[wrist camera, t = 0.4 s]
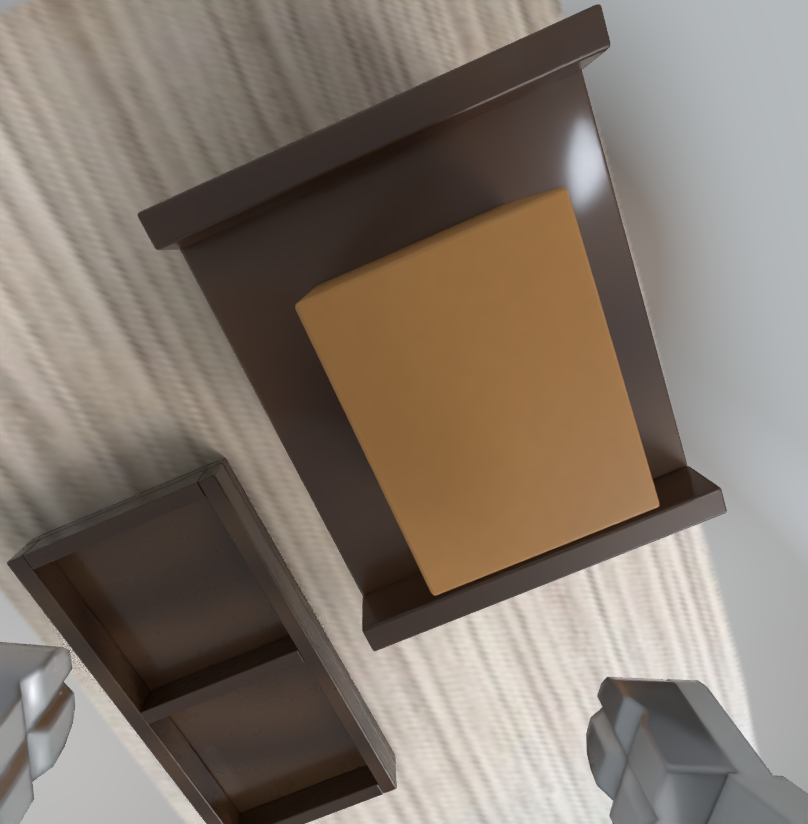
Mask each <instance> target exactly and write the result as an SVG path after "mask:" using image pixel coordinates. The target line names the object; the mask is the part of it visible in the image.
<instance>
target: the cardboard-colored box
mask: <svg viewBox="0 0 808 824" xmlns="http://www.w3.org/2000/svg"><path fill="white" fill-rule="evenodd" d="M295 308H296V311H297V313H298V315H299V317H300V320H301V322H302V324H303V326H304V328H305V330H306V332H307V334H308V336H309V338H310V340H311V343H312V345H313V347H314V349H315V351H316V353H317V355H318V357H319V359H320V361H321V364H322V366H323V368H324V370H325V372H326V374H327V376H328V378H329V380H330V382H331V385H332V387H333V389H334V391H335V393H336V395H337V397H338V399H339V401H340V403H341V405H342V408H343V410H344V412H345V414H346V416H347V418H348V420H349V422H350V424H351V426H352V429H353V431H354V433H355V435H356V437H357V439H358V441H359V443H360V445H361V447H362V449H363V452H364V454H365V456H366V458H367V460H368V462H369V464H370V466H371V468H372V470H373V473H374V475H375V477H376V479H377V481H378V483H379V485H380V487H381V489H382V491H383V493H384V496H385V498H386V500H387V502H388V504H389V506H390V508H391V510H392V512H393V514H394V517H395V519H396V521H397V523H398V525H399V527H400V529H401V531H402V533H403V535H404V537H405V540H406V542H407V544H408V546H409V548H410V550H411V552H412V554H413V556H414V558H415V561H416V563H417V565H418V567H419V569H420V571H421V573H422V575H423V577H424V579H425V581H426V584H427V586H428V588H429V590H430V592H431V593H432V594H433V595H439V594H441V593H444V592H446V591H449V590H451V589H454V588H456V587H459V586H461V585H464V584H466V583H469V582H471V581H474V580H476V579H479V578H481V577H484V576H486V575H489V574H491V573H494V572H496V571H499V570H502V569H504V568H507V567H509V566H512V565H514V564H517V563H519V562H522V561H524V560H527V559H529V558H532V557H534V556H537V555H539V554H542V553H544V552H547V551H549V550H552V549H554V548H557V547H559V546H562V545H564V544H567V543H569V542H572V541H574V540H577V539H579V538H582V537H584V536H587V535H589V534H592V533H595V532H597V531H600V530H602V529H605V528H607V527H610V526H612V525H615V524H617V523H620V522H622V521H625V520H627V519H630V518H632V517H635V516H637V515H640V514H642V513H645V512H647V511H650V510H652V509H655V508H657V507H658V506H659V500H658V497H657V493H656V490H655V486H654V483H653V480H652V476H651V473H650V469H649V466H648V462H647V459H646V456H645V452H644V449H643V445H642V442H641V439H640V435H639V432H638V428H637V425H636V422H635V418H634V415H633V411H632V408H631V404H630V401H629V398H628V394H627V391H626V387H625V384H624V381H623V377H622V374H621V370H620V367H619V364H618V360H617V357H616V353H615V350H614V346H613V343H612V340H611V336H610V333H609V329H608V326H607V323H606V319H605V316H604V312H603V309H602V305H601V302H600V299H599V295H598V292H597V288H596V285H595V282H594V278H593V275H592V271H591V268H590V265H589V261H588V258H587V254H586V251H585V247H584V244H583V241H582V237H581V234H580V230H579V227H578V224H577V220H576V217H575V213H574V210H573V207H572V203H571V200H570V196H569V193H568V190H567V189H566V188H565V187H561V188H557V189H554V190H550V191H547V192H543V193H540V194H536V195H533V196H529V197H526V198H522V199H519V200H516V201H512V202H509V203H505V204H503V205H500V206H498V207H496V208H493V209H491V210H489V211H487V212H484V213H482V214H480V215H477V216H475V217H473V218H471V219H468V220H466V221H464V222H461V223H459V224H457V225H455V226H452V227H450V228H448V229H445V230H443V231H441V232H439V233H436V234H434V235H432V236H429V237H427V238H425V239H423V240H420V241H418V242H416V243H413V244H411V245H409V246H406V247H404V248H402V249H400V250H397V251H395V252H393V253H390V254H388V255H386V256H384V257H381V258H379V259H377V260H374V261H372V262H370V263H368V264H365V265H363V266H361V267H358V268H356V269H354V270H352V271H349V272H347V273H345V274H342V275H340V276H338V277H336V278H333V279H331V280H329V281H326V282H324V283H322V284H320V285H317V286H316V287H315V288H314V289H313V290H311V291H310V292H309V293H308V294H307V295H306V296H305V297H303V298H302V299H301V300H300V301H299V302H298V303H297V304H296V305H295Z"/></svg>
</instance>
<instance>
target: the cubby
mask: <svg viewBox="0 0 808 824" xmlns="http://www.w3.org/2000/svg"><path fill="white" fill-rule="evenodd" d="M609 47H610V40H609V36H608V32H607V28H606V24H605V20H604V16H603V12H602V8H601V5H594V6H592V7H590V8H588V9H586V10H583V11H581V12H579V13H577V14H574V15H572V16H570V17H568V18H566V19H563V20H561V21H559V22H557V23H555V24H552V25H550V26H548V27H546V28H544V29H541V30H539V31H537V32H535V33H533V34H530V35H528V36H526V37H524V38H522V39H519V40H517V41H515V42H513V43H511V44H508V45H506V46H504V47H502V48H500V49H497V50H495V51H493V52H491V53H489V54H486V55H484V56H482V57H480V58H477V59H475V60H473V61H471V62H469V63H466V64H464V65H462V66H460V67H458V68H455V69H453V70H451V71H449V72H447V73H444V74H442V75H440V76H438V77H436V78H433V79H431V80H429V81H427V82H425V83H422V84H420V85H418V86H416V87H414V88H411V89H409V90H407V91H405V92H403V93H400V94H398V95H396V96H394V97H392V98H389V99H387V100H385V101H383V102H381V103H378V104H376V105H374V106H372V107H370V108H367V109H365V110H363V111H361V112H359V113H356V114H354V115H352V116H350V117H348V118H345V119H343V120H341V121H339V122H336V123H334V124H332V125H330V126H328V127H325V128H323V129H321V130H319V131H317V132H314V133H312V134H310V135H308V136H306V137H303V138H301V139H299V140H297V141H295V142H292V143H290V144H288V145H286V146H284V147H281V148H279V149H277V150H275V151H273V152H270V153H268V154H266V155H264V156H262V157H259V158H257V159H255V160H253V161H251V162H248V163H246V164H244V165H242V166H240V167H237V168H235V169H233V170H231V171H229V172H226V173H224V174H222V175H220V176H218V177H215V178H213V179H211V180H209V181H207V182H204V183H202V184H200V185H198V186H195V187H193V188H191V189H189V190H187V191H184V192H182V193H180V194H178V195H176V196H173V197H171V198H169V199H167V200H165V201H162V202H160V203H158V204H156V205H154V206H151V207H149V208H147V209H145V210H143V211H140V212H139V213H138V218H139V220H140V221H141V223H142V225H143V227H144V229H145V231H146V233H147V234H148V236H149V238H150V240H151V242H152V244H153V245H154V247H155V248H156V249H157V250H173V249H180V250H181V252H182V254H183V256H184V258H185V260H186V262H187V264H188V266H189V267H190V269H191V271H192V273H193V275H194V277H195V279H196V281H197V283H198V284H199V286H200V288H201V290H202V292H203V294H204V296H205V298H206V300H207V302H208V303H209V305H210V307H211V309H212V311H213V313H214V315H215V317H216V319H217V321H218V322H219V324H220V326H221V328H222V330H223V332H224V334H225V336H226V338H227V339H228V341H229V343H230V345H231V347H232V349H233V351H234V353H235V355H236V357H237V358H238V360H239V362H240V364H241V366H242V368H243V370H244V372H245V374H246V375H247V377H248V379H249V381H250V383H251V385H252V387H253V389H254V391H255V393H256V394H257V396H258V398H259V400H260V402H261V404H262V406H263V408H264V410H265V411H266V413H267V415H268V417H269V419H270V421H271V423H272V425H273V427H274V429H275V430H276V432H277V434H278V436H279V438H280V440H281V442H282V444H283V446H284V447H285V449H286V451H287V453H288V455H289V457H290V459H291V461H292V463H293V465H294V466H295V468H296V470H297V472H298V474H299V476H300V478H301V480H302V482H303V483H304V485H305V487H306V489H307V491H308V493H309V495H310V497H311V499H312V501H313V502H314V504H315V506H316V508H317V510H318V512H319V514H320V516H321V518H322V520H323V521H324V523H325V525H326V527H327V529H328V531H329V533H330V535H331V537H332V538H333V540H334V542H335V544H336V546H337V548H338V550H339V552H340V554H341V556H342V557H343V559H344V561H345V563H346V565H347V567H348V569H349V571H350V573H351V574H352V576H353V578H354V580H355V582H356V584H357V586H358V588H359V590H360V592H361V593H362V595H363V614H362V631H363V633H364V635H365V637H366V639H367V640H368V642H369V644H370V646H371V648H372V650H373V651H377V650H379V649H382V648H385V647H387V646H390V645H392V644H395V643H397V642H400V641H402V640H405V639H407V638H410V637H412V636H415V635H418V634H420V633H423V632H425V631H428V630H430V629H433V628H435V627H438V626H440V625H443V624H445V623H448V622H451V621H453V620H456V619H458V618H461V617H463V616H466V615H468V614H471V613H473V612H476V611H478V610H481V609H483V608H486V607H489V606H491V605H494V604H496V603H499V602H501V601H504V600H506V599H509V598H511V597H514V596H516V595H519V594H522V593H524V592H527V591H529V590H532V589H534V588H537V587H539V586H542V585H544V584H547V583H549V582H552V581H554V580H557V579H560V578H562V577H565V576H567V575H570V574H572V573H575V572H577V571H580V570H582V569H585V568H587V567H590V566H593V565H595V564H598V563H600V562H603V561H605V560H608V559H610V558H613V557H615V556H618V555H620V554H623V553H625V552H628V551H631V550H633V549H636V548H638V547H641V546H643V545H646V544H648V543H651V542H653V541H656V540H658V539H661V538H664V537H666V536H669V535H671V534H674V533H676V532H679V531H681V530H684V529H686V528H689V527H691V526H694V525H696V524H699V523H702V522H704V521H706V520H709V519H712V518H714V517H717V516H719V515H722V514H724V513H726V511H727V510H726V506H725V502H724V498H723V494H722V490H721V488H720V487H718V486H717V485H716V484H714V483H713V482H711V481H710V480H708V479H707V478H705V477H704V476H702V475H701V474H699V473H698V472H697V471H695V470H694V469H692V468H691V467H689V466H687V463H686V459H685V455H684V451H683V448H682V444H681V440H680V436H679V433H678V429H677V425H676V421H675V418H674V414H673V410H672V406H671V403H670V399H669V395H668V392H667V388H666V384H665V380H664V377H663V373H662V369H661V365H660V362H659V358H658V354H657V350H656V347H655V343H654V339H653V335H652V332H651V328H650V324H649V320H648V317H647V313H646V309H645V305H644V302H643V298H642V294H641V290H640V287H639V283H638V279H637V276H636V272H635V268H634V264H633V261H632V257H631V253H630V249H629V246H628V242H627V238H626V234H625V231H624V227H623V223H622V219H621V216H620V212H619V208H618V204H617V201H616V197H615V193H614V189H613V186H612V182H611V178H610V174H609V171H608V167H607V163H606V160H605V156H604V152H603V148H602V145H601V141H600V137H599V133H598V130H597V126H596V122H595V118H594V115H593V111H592V107H591V103H590V100H589V96H588V92H587V88H586V85H585V81H584V77H583V73H582V69H583V68H584V67H586V66H587V65H588V64H590V63H591V62H592V61H593V60H595V59H596V58H597V57H598V56H599V55H601V54H602V53H603V52H605V51H606V50H607V49H608V48H609ZM561 187H565V188H566V189H567V190H568V193H569V196H570V200H571V203H572V207H573V210H574V213H575V217H576V220H577V224H578V227H579V230H580V234H581V237H582V241H583V244H584V247H585V251H586V254H587V258H588V261H589V265H590V268H591V271H592V275H593V278H594V282H595V285H596V288H597V292H598V295H599V299H600V302H601V305H602V309H603V312H604V316H605V319H606V323H607V326H608V329H609V333H610V336H611V340H612V343H613V346H614V350H615V353H616V357H617V360H618V364H619V367H620V370H621V374H622V377H623V381H624V384H625V387H626V391H627V394H628V398H629V401H630V404H631V408H632V411H633V415H634V418H635V422H636V425H637V428H638V432H639V435H640V439H641V442H642V445H643V449H644V452H645V456H646V459H647V462H648V466H649V469H650V473H651V476H652V480H653V483H654V486H655V490H656V493H657V497H658V500H659V506H658V507H657V508H655V509H652V510H650V511H647V512H645V513H642V514H640V515H637V516H635V517H632V518H630V519H627V520H625V521H622V522H620V523H617V524H615V525H612V526H610V527H607V528H605V529H602V530H600V531H597V532H595V533H592V534H589V535H587V536H584V537H582V538H579V539H577V540H574V541H572V542H569V543H567V544H564V545H562V546H559V547H557V548H554V549H552V550H549V551H547V552H544V553H542V554H539V555H537V556H534V557H532V558H529V559H527V560H524V561H522V562H519V563H517V564H514V565H512V566H509V567H507V568H504V569H502V570H499V571H496V572H494V573H491V574H489V575H486V576H484V577H481V578H479V579H476V580H474V581H471V582H469V583H466V584H464V585H461V586H459V587H456V588H454V589H451V590H449V591H446V592H444V593H441V594H439V595H433V594H432V593H431V592H430V590H429V588H428V586H427V584H426V581H425V579H424V577H423V575H422V573H421V571H420V569H419V567H418V565H417V563H416V561H415V558H414V556H413V554H412V552H411V550H410V548H409V546H408V544H407V542H406V540H405V537H404V535H403V533H402V531H401V529H400V527H399V525H398V523H397V521H396V519H395V517H394V514H393V512H392V510H391V508H390V506H389V504H388V502H387V500H386V498H385V496H384V493H383V491H382V489H381V487H380V485H379V483H378V481H377V479H376V477H375V475H374V473H373V470H372V468H371V466H370V464H369V462H368V460H367V458H366V456H365V454H364V452H363V449H362V447H361V445H360V443H359V441H358V439H357V437H356V435H355V433H354V431H353V429H352V426H351V424H350V422H349V420H348V418H347V416H346V414H345V412H344V410H343V408H342V405H341V403H340V401H339V399H338V397H337V395H336V393H335V391H334V389H333V387H332V385H331V382H330V380H329V378H328V376H327V374H326V372H325V370H324V368H323V366H322V364H321V361H320V359H319V357H318V355H317V353H316V351H315V349H314V347H313V345H312V343H311V340H310V338H309V336H308V334H307V332H306V330H305V328H304V326H303V324H302V322H301V320H300V317H299V315H298V313H297V311H296V308H295V305H296V304H297V303H298V302H299V301H300V300H301V299H302V298H303V297H305V296H306V295H307V294H308V293H309V292H310V291H311V290H313V289H314V288H315V287H316V286H317V285H320V284H322V283H324V282H326V281H329V280H331V279H333V278H336V277H338V276H340V275H342V274H345V273H347V272H349V271H352V270H354V269H356V268H358V267H361V266H363V265H365V264H368V263H370V262H372V261H374V260H377V259H379V258H381V257H384V256H386V255H388V254H390V253H393V252H395V251H397V250H400V249H402V248H404V247H406V246H409V245H411V244H413V243H416V242H418V241H420V240H423V239H425V238H427V237H429V236H432V235H434V234H436V233H439V232H441V231H443V230H445V229H448V228H450V227H452V226H455V225H457V224H459V223H461V222H464V221H466V220H468V219H471V218H473V217H475V216H477V215H480V214H482V213H484V212H487V211H489V210H491V209H493V208H496V207H498V206H500V205H503V204H505V203H509V202H512V201H516V200H519V199H522V198H526V197H529V196H533V195H536V194H540V193H543V192H547V191H550V190H554V189H557V188H561Z"/></svg>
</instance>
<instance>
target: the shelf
mask: <svg viewBox="0 0 808 824" xmlns="http://www.w3.org/2000/svg"><path fill="white" fill-rule="evenodd" d="M7 564H8V566H9V567H10V568H11V570H12V571H13V572H14V574H15V575H16V576H17V577H18V579H19V580H20V581H21V583H22V584H23V585H24V587H25V588H26V589H27V590H28V592H29V593H30V594H31V596H32V597H33V598H34V600H35V601H36V602H37V604H38V605H39V606H40V607H41V609H42V610H43V611H44V613H45V614H46V615H47V617H48V618H49V619H50V620H51V622H52V623H53V624H54V626H55V627H56V628H57V630H58V631H59V632H60V633H61V635H62V636H63V637H64V639H65V640H66V641H67V643H68V644H69V645H70V647H71V648H72V649H73V650H74V652H75V653H76V654H77V656H78V657H79V658H80V660H81V661H82V662H83V663H84V665H85V666H86V667H87V669H88V670H89V671H90V673H91V674H92V675H93V676H94V678H95V679H96V680H97V682H98V683H99V684H100V686H101V687H102V688H103V690H104V691H105V692H106V693H107V695H108V696H109V697H110V699H111V700H112V701H113V703H114V704H115V705H116V706H117V708H118V709H119V710H120V712H121V713H122V714H123V716H124V717H125V718H126V719H127V721H128V722H129V723H130V725H131V726H132V727H133V729H134V730H135V731H136V732H137V734H138V735H139V736H140V738H141V739H142V740H143V742H144V743H145V744H146V746H147V747H148V748H149V749H150V751H151V752H152V753H153V755H154V756H155V757H156V759H157V760H158V761H159V762H160V764H161V765H162V766H163V768H164V769H165V770H166V772H167V773H168V774H169V775H170V777H171V778H172V779H173V781H174V782H175V783H176V785H177V786H178V787H179V789H180V790H181V791H182V792H183V794H184V795H185V796H186V798H187V799H188V800H189V802H190V803H191V804H192V805H193V807H194V808H195V809H196V811H197V812H198V813H199V815H200V816H201V817H202V818H203V820H204V821H205V822H206V824H305V823H308V822H311V821H313V820H316V819H318V818H321V817H324V816H326V815H329V814H332V813H334V812H337V811H340V810H342V809H345V808H348V807H350V806H353V805H355V804H358V803H361V802H363V801H366V800H369V799H371V798H374V797H377V796H379V795H382V794H383V793H386V792H389V791H392V790H394V789H396V788H397V783H396V766H395V764H396V762H395V754H394V753H393V751H392V749H391V747H390V746H389V744H388V742H387V740H386V739H385V737H384V735H383V733H382V732H381V730H380V728H379V726H378V725H377V723H376V721H375V719H374V718H373V716H372V714H371V712H370V711H369V709H368V707H367V705H366V704H365V702H364V700H363V698H362V697H361V695H360V693H359V691H358V690H357V688H356V686H355V684H354V683H353V681H352V679H351V677H350V676H349V674H348V672H347V670H346V669H345V667H344V665H343V663H342V662H341V660H340V658H339V656H338V654H337V653H336V651H335V649H334V647H333V646H332V644H331V642H330V640H329V639H328V637H327V635H326V633H325V632H324V630H323V628H322V626H321V625H320V623H319V621H318V619H317V618H316V616H315V614H314V612H313V611H312V609H311V607H310V605H309V604H308V602H307V600H306V598H305V597H304V595H303V593H302V591H301V590H300V588H299V586H298V584H297V583H296V581H295V579H294V577H293V576H292V574H291V572H290V570H289V569H288V567H287V565H286V563H285V562H284V560H283V558H282V556H281V555H280V553H279V551H278V549H277V548H276V546H275V544H274V542H273V541H272V539H271V537H270V535H269V533H268V532H267V530H266V528H265V526H264V525H263V523H262V521H261V519H260V518H259V516H258V514H257V512H256V511H255V509H254V507H253V505H252V504H251V502H250V500H249V498H248V497H247V495H246V493H245V491H244V490H243V488H242V486H241V484H240V483H239V481H238V479H237V477H236V476H235V474H234V472H233V470H232V469H231V467H230V465H229V463H228V462H227V460H226V458H223V459H221V460H219V461H216V462H214V463H212V464H209V465H207V466H205V467H202V468H200V469H197V470H195V471H193V472H190V473H188V474H186V475H183V476H181V477H179V478H176V479H174V480H171V481H169V482H167V483H164V484H162V485H160V486H157V487H155V488H152V489H150V490H148V491H145V492H143V493H141V494H138V495H136V496H134V497H131V498H129V499H126V500H124V501H122V502H119V503H117V504H115V505H112V506H110V507H107V508H105V509H103V510H100V511H98V512H96V513H93V514H91V515H89V516H86V517H84V518H81V519H79V520H77V521H74V522H72V523H70V524H67V525H65V526H62V527H60V528H58V529H55V530H53V531H51V532H48V533H46V534H44V535H41V536H39V537H36V538H34V539H32V540H31V541H30V542H29V543H28V544H27V545H26V546H25V547H24V548H22V549H21V550H20V551H19V552H18V553H17V554H16V555H15V556H13V557H12V558H11V559H10V560H9V561H8V562H7Z"/></svg>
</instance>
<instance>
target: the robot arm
mask: <svg viewBox="0 0 808 824" xmlns="http://www.w3.org/2000/svg"><path fill="white" fill-rule="evenodd" d="M71 670H72V663H71V656H70V650H68V649H66V648H64V647H56V646H43V645H31V644H18V643H6V642H0V824H19V823H20V822H21V820H22V818H23V817H24V815H25V813H26V812H27V810H28V808H29V806H30V805H31V803H32V802H33V800H34V794H33V784H32V782H33V781H34V780H35V779H37V778H38V777H39V776H41V775H42V774H44V773H45V772H46V771H48V770H49V769H50V768H52V767H53V766H54V764H55V762H56V761H57V759H58V757H59V755H60V754H61V752H62V750H63V748H64V746H65V744H66V741H67V738H68V735H69V732H70V729H71V727H72V724H73V717H74V710H75V699H74V693H73V691H72V690H71V689H70V688H69V687H68V686H67V685H66V684H65V683H64V680H65V679H66V677H67V676H68V674H69V673H70V671H71ZM597 696H598V698H599V700H600V702H601V705H602V708H601V709H600V710H599V711H598V712H597V713H595V714H594V715H593V716H592V717H591V718H590V722H589V726H588V730H587V734H586V740H587V756H588V760H589V764H590V769H591V771H592V774H593V776H594V779H595V781H596V784H597V786H598V787H599V788H600V789H601V790H602V791H604V792H605V793H606V794H607V795H608V796H609V797H610V798H611V799H612V800H613V803H612V807H611V811H610V815H609V816H610V818H611V820H612V823H613V824H808V793H806V792H805V791H803V790H802V789H801V788H799V787H798V786H796V785H795V784H793V783H792V782H791V781H789V780H788V779H786V778H785V777H783V776H774V775H772V773H771V772H770V771H769V769H768V768H767V767H766V765H765V764H764V763H763V761H762V760H761V759H760V757H759V756H758V755H757V753H756V752H755V751H754V749H753V748H752V747H751V745H750V744H749V743H748V741H747V740H746V739H745V737H744V736H743V734H742V733H741V732H740V730H739V729H738V728H737V726H736V725H735V724H734V722H733V721H732V720H731V718H730V717H729V716H728V714H727V713H726V712H725V710H724V709H723V708H722V706H721V705H720V704H719V702H718V701H717V700H716V698H715V697H714V696H713V694H712V693H711V692H710V690H709V689H708V688H707V687H706V686H705V685H704V684H702V683H701V682H699V681H697V680H672V679H668V680H663V679H644V678H622V677H607V678H606V679H605V680H604V681H603V682H602V683H601V686H600V689H599V692H598V695H597Z"/></svg>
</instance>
